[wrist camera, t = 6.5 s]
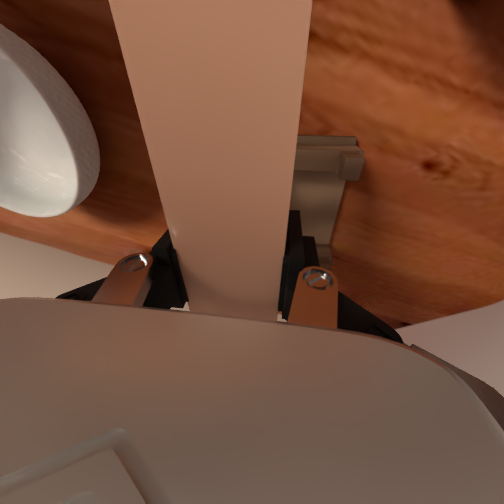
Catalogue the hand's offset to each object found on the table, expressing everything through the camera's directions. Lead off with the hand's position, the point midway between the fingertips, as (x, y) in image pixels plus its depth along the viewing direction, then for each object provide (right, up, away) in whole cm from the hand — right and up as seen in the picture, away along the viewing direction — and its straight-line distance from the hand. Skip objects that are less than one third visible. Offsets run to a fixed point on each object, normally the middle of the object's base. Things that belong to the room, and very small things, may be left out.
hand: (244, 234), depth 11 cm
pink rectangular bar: (0, 0, 0) cm, 1 cm away
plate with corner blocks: (+5, +5, +15) cm, 17 cm away
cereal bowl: (-23, +14, +13) cm, 30 cm away
